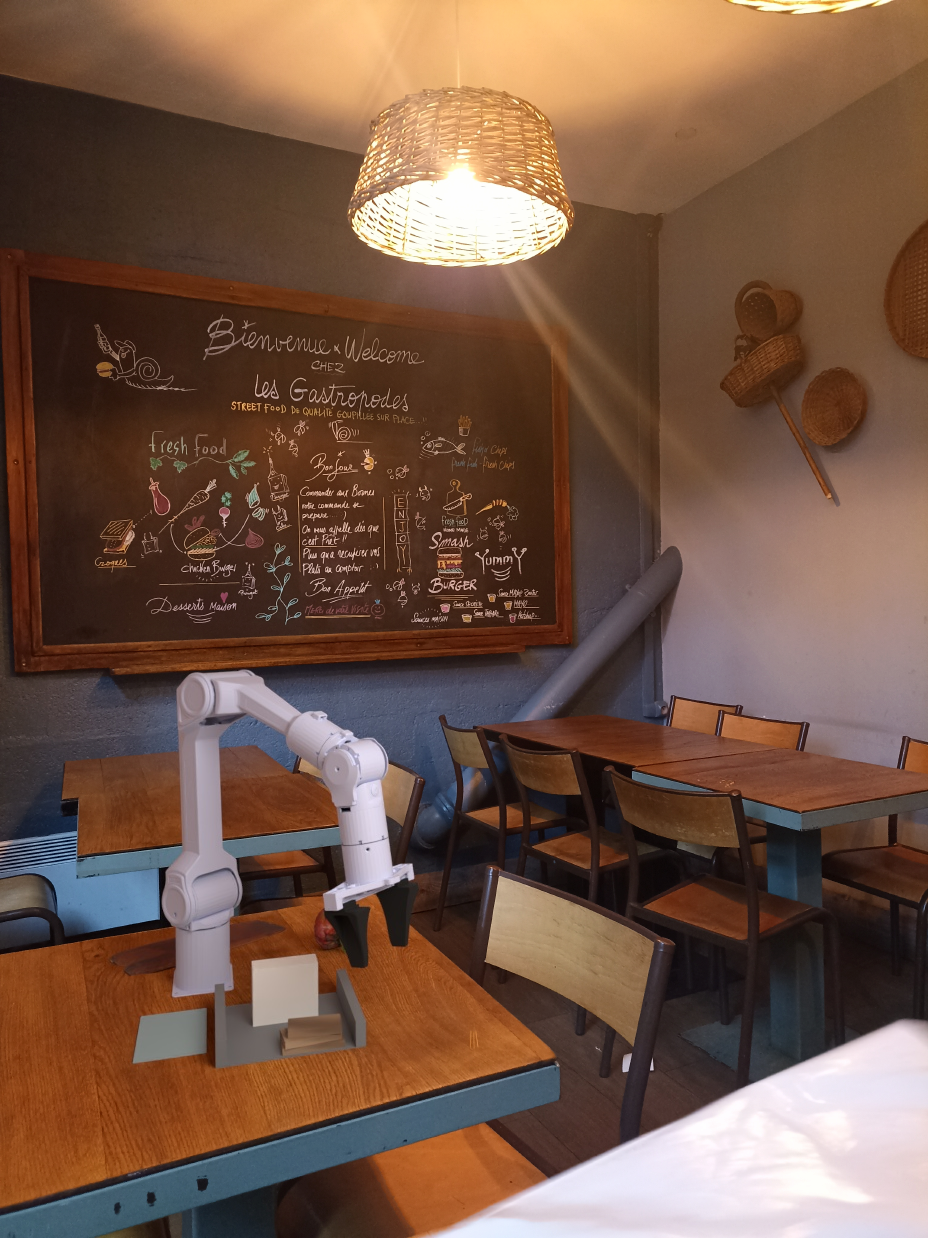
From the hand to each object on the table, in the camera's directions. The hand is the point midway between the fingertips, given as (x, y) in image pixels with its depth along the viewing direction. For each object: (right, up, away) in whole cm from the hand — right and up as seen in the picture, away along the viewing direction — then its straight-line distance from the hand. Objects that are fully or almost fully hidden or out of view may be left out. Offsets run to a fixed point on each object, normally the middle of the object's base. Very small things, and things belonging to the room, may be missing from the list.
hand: (380, 956), depth 102 cm
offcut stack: (-8, -10, -1) cm, 13 cm away
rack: (-12, -11, +4) cm, 16 cm away
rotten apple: (-10, -11, +31) cm, 34 cm away
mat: (-25, -11, +2) cm, 28 cm away
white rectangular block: (-13, -10, +6) cm, 17 cm away
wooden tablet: (-31, -12, +33) cm, 47 cm away
